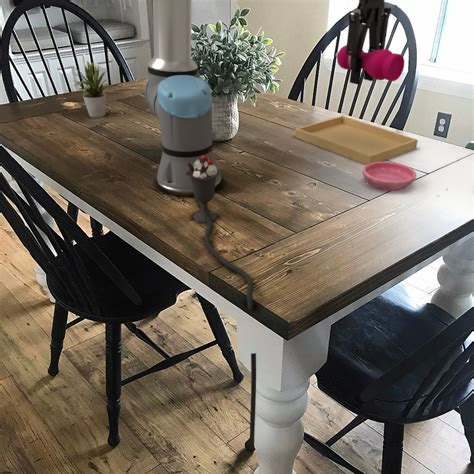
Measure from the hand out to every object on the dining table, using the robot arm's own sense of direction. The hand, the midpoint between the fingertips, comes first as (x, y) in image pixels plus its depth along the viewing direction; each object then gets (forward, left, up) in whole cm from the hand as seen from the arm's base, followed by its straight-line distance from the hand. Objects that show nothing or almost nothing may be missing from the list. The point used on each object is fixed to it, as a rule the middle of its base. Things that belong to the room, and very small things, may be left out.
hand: (361, 81), depth 144 cm
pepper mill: (-9, -5, +5) cm, 12 cm away
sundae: (-39, +46, -17) cm, 63 cm away
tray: (0, 0, -17) cm, 17 cm away
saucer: (-28, +1, -17) cm, 33 cm away
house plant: (+38, +74, -17) cm, 85 cm away
